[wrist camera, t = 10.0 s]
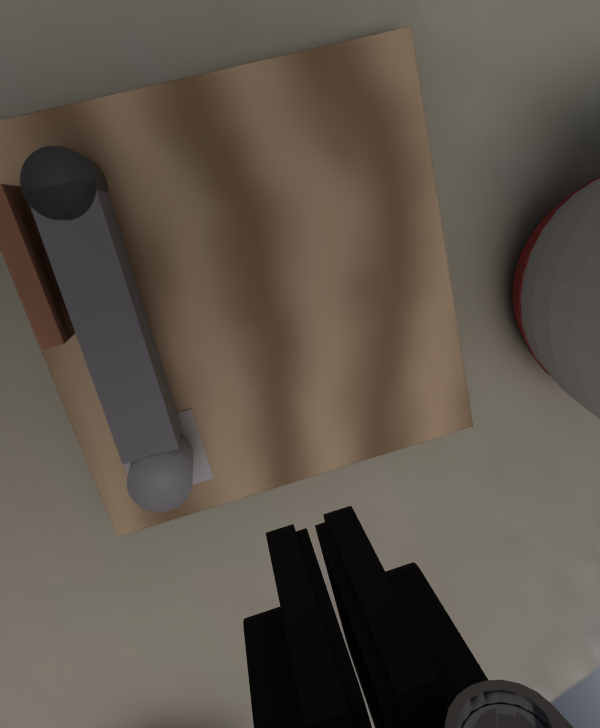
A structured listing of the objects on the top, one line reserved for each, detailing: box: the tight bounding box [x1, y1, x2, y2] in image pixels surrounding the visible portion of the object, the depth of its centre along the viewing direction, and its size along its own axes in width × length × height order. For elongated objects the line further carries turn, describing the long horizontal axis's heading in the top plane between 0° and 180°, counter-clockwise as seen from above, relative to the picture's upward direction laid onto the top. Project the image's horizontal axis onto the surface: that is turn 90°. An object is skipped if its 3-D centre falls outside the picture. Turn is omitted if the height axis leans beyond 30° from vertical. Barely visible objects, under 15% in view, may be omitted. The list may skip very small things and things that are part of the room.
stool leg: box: [20, 146, 193, 512], centre depth 26 cm, size 18×3×3 cm, turn 12°
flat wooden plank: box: [0, 26, 473, 536], centre depth 28 cm, size 22×22×6 cm
